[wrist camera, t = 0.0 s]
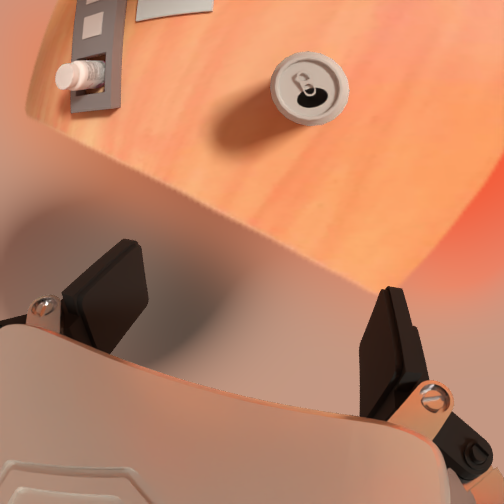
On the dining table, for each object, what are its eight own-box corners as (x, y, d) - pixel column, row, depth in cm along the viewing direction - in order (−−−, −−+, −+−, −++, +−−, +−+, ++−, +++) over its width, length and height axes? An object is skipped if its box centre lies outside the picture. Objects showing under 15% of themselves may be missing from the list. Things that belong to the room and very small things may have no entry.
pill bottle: (89, 90, 40) (53, 95, 32) (89, 63, 37) (53, 65, 30) (111, 85, 39) (74, 88, 31) (110, 57, 36) (74, 57, 29)
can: (294, 126, 37) (282, 136, 26) (275, 73, 34) (255, 62, 24) (350, 111, 34) (361, 116, 24) (332, 57, 31) (334, 39, 21)
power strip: (90, -23, 29) (79, -26, 26) (132, -37, 27) (121, -42, 25) (80, 111, 42) (68, 113, 39) (120, 107, 40) (108, 109, 37)
